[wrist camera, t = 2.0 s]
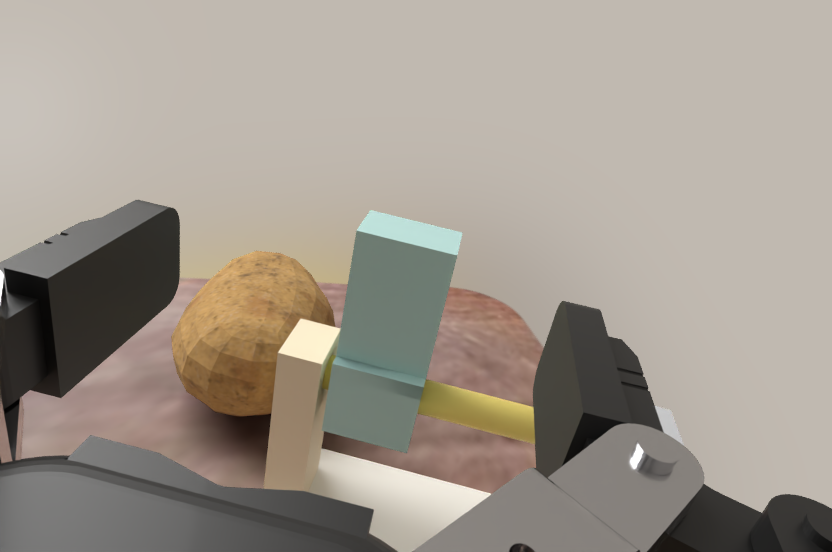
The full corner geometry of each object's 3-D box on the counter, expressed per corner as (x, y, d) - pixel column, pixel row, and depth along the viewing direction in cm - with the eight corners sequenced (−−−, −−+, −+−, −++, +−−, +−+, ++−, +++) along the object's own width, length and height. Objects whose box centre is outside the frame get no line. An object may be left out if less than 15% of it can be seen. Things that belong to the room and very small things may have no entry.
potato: (327, 329, 46) (341, 238, 43) (326, 463, 34) (345, 353, 30) (199, 317, 44) (202, 221, 41) (148, 455, 32) (146, 336, 28)
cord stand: (248, 541, 29) (264, 372, 24) (290, 455, 34) (310, 303, 29) (608, 641, 28) (699, 487, 23) (593, 537, 33) (664, 394, 28)
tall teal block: (321, 430, 26) (352, 236, 22) (342, 383, 30) (373, 205, 25) (407, 453, 26) (455, 261, 22) (418, 403, 29) (463, 227, 25)
